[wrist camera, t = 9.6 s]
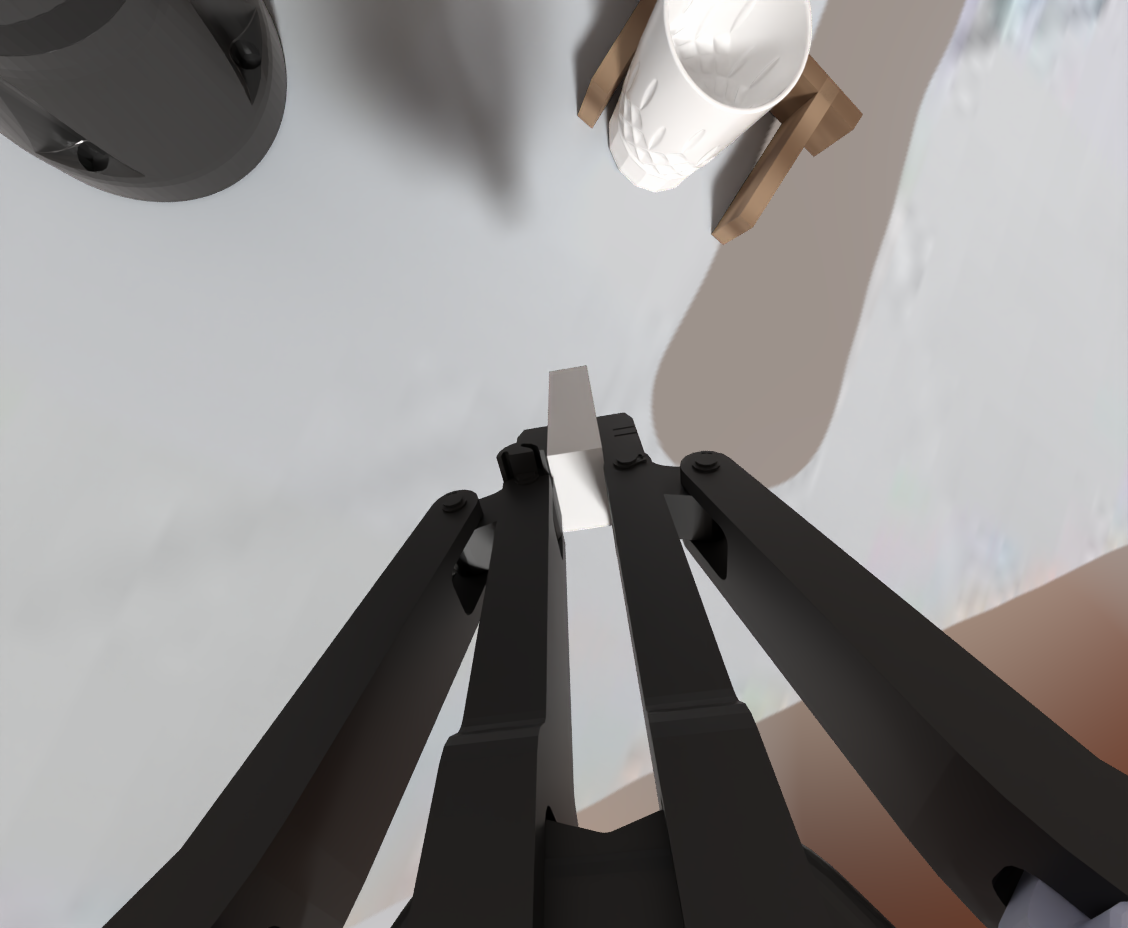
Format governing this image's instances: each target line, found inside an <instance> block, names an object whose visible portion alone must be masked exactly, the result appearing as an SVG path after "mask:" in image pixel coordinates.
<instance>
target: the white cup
mask: <svg viewBox="0 0 1128 928" xmlns="http://www.w3.org/2000/svg"><path fill="white" fill-rule="evenodd" d="M811 37H812V15H811V7H810V1H809V0H657V1H656V4H655V6H654V9H653V11H652V14H651V16H650V18H649V21H648V23H647V25H646V27H645V30H644V32H643V34H642V36H641V39H640V41H639V43H638V46H637V49H636V52H635V55H634V57H633V59H632V62H631V64H630V67H629V69H628V72H627V75H626V77H625V79H624V82H623V87H622V92H621V94H620V97H619V99H618V101H617V104H616V106H615V109H614V111H613V114H612V117H611V119H610V122H609V145H610V151H611V153H612V155H613V157H614V160H615V162H616V164H617V167H618V169H619V171H620V172H621V173H622V174H623V175H624V176H625V177H626V178H627V179H628V180H629V181H631V182H632V183H633V184H634V185H635V186H636V187H639V188H642V189H646V190H649V191H652V192H660V191H665V190H669V189H674V188H676V187H677V186H678V185H679V184H680V183H682V182H683V181H684V180H685V179H686V178H687V177H688V176H689V175H691V174H692V173H693V172H695V171H696V170H697V169H699V168H701V167H703V166H705V165H706V164H707V163H708V162H709V161H711V160H712V159H713V158H714V157H716V156H717V155H718V154H719V153H720V152H721V151H723V150H724V149H725V148H727V147H728V146H729V145H730V144H732V143H733V142H734V141H735V140H736V139H737V138H738V137H739V136H740V135H742V134H743V133H744V132H745V131H746V130H747V129H748V128H750V127H751V126H752V125H753V124H754V123H755V122H757V121H758V120H759V119H760V118H761V117H763V116H764V115H765V114H766V113H767V112H768V111H769V110H771V109H772V108H773V107H774V106H775V105H776V104H778V103H779V102H780V101H781V100H782V99H783V98H784V97H785V96H787V94H788V93H789V92H790V91H791V90H792V89H793V87H794V86H795V84H796V83H797V81H798V80H799V78H800V76H801V74H802V72H803V70H804V67H805V65H806V62H807V58H808V55H809V50H810V45H811Z"/></svg>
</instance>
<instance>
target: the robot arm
mask: <svg viewBox="0 0 1128 928" xmlns="http://www.w3.org/2000/svg"><path fill="white" fill-rule="evenodd" d="M285 100H286V71H285V63H284V57H283V52H282V48H281V44H280V40H279V37H278V34H277V31H276V28H275V26H274V23H273V20H272V18H271V16H270V14H269V12H268V9H267V7H266V6H265V4H264V2H263V0H0V133H1V134H3V135H4V136H5V137H7V138H8V139H9V140H11V141H12V142H14V143H15V144H16V145H18V146H19V147H21V148H22V149H24V150H25V151H27V152H29V153H30V154H32V155H33V156H35V157H37V158H39V159H41V160H43V161H44V162H46V163H48V164H50V165H52V166H53V167H55V168H57V169H59V170H61V171H63V172H64V173H66V174H68V175H70V176H72V177H74V178H75V179H77V180H79V181H81V182H84V183H86V184H88V185H90V186H93V187H95V188H97V189H100V190H103V191H106V192H109V193H112V194H115V195H119V196H122V197H127V198H131V199H136V200H143V201H153V202H178V201H187V200H193V199H198V198H202V197H205V196H209V195H212V194H214V193H217V192H219V191H222V190H224V189H226V188H228V187H230V186H232V185H233V184H235V183H236V182H238V181H239V180H241V179H242V178H243V177H245V176H246V175H247V174H248V173H249V172H251V171H252V170H253V169H254V168H255V167H256V166H257V165H258V163H259V162H260V161H261V160H262V159H263V157H264V156H265V155H266V153H267V152H268V150H269V148H270V147H271V145H272V143H273V141H274V139H275V137H276V135H277V132H278V130H279V127H280V124H281V121H282V117H283V113H284V108H285ZM496 458H497V461H498V464H499V468H500V471H501V474H502V478H503V481H504V483H503V489H502V490H500V491H498V492H497V493H494V494H492V495H490V496H487V497H484V498H481V499H478V497H477V494H476V493H474V492H473V491H470V490H458V491H453V492H450V493H447V494H446V495H444V496H442V497H441V498H439V499H438V500H437V501H436V502H435V503H434V504H433V505H432V506H431V508H430V509H429V510H428V512H427V513H426V515H425V516H424V517H423V519H422V520H421V521H420V523H419V524H418V525H417V527H416V528H415V530H414V531H413V532H412V534H411V535H410V536H409V538H408V539H407V540H406V542H405V543H404V545H403V546H402V547H401V549H400V550H399V551H398V553H397V554H396V556H395V557H394V558H393V560H392V561H391V562H390V564H389V565H388V566H387V568H386V569H385V571H384V572H383V573H382V575H381V576H380V577H379V579H378V580H377V581H376V583H375V584H374V586H373V587H372V588H371V590H370V591H369V592H368V594H367V595H366V597H365V598H364V599H363V601H362V602H361V603H360V605H359V606H358V607H357V609H356V610H355V612H354V613H353V614H352V616H351V617H350V618H349V620H348V621H347V622H346V624H345V625H344V627H343V628H342V629H341V631H340V632H339V633H338V635H337V636H336V638H335V639H334V640H333V642H332V643H331V644H330V646H329V647H328V648H327V650H326V651H325V653H324V654H323V655H322V657H321V658H320V659H319V661H318V662H317V663H316V665H315V666H314V668H313V669H312V670H311V672H310V673H309V674H308V676H307V677H306V678H305V680H304V681H303V683H302V684H301V685H300V687H299V688H298V689H297V691H296V692H295V694H294V695H293V696H292V698H291V699H290V700H289V702H288V703H287V704H286V706H285V707H284V709H283V710H282V711H281V713H280V714H279V715H278V717H277V718H276V719H275V721H274V722H273V724H272V725H271V726H270V728H269V729H268V730H267V732H266V733H265V735H264V736H263V737H262V739H261V740H260V741H259V743H258V744H257V745H256V747H255V748H254V750H253V751H252V752H251V754H250V755H249V756H248V758H247V759H246V760H245V762H244V763H243V765H242V766H241V767H240V769H239V770H238V771H237V773H236V774H235V776H234V777H233V778H232V780H231V781H230V782H229V784H228V785H227V786H226V788H225V789H224V791H223V792H222V793H221V795H220V796H219V797H218V799H217V800H216V801H215V803H214V804H213V806H212V807H211V808H210V810H209V811H208V812H207V814H206V815H205V817H204V818H203V819H202V821H201V822H200V823H199V825H198V826H197V827H196V829H195V830H194V832H193V833H192V834H191V836H190V837H189V838H188V840H187V841H186V842H185V844H184V845H183V847H182V848H181V849H180V850H179V851H178V852H177V853H176V854H175V855H174V856H173V857H172V858H171V859H170V860H169V861H168V862H167V863H166V864H165V865H164V866H163V867H162V868H161V869H160V870H159V871H158V872H157V873H156V874H155V875H154V876H153V877H152V878H151V879H150V880H149V881H148V882H147V883H146V884H145V885H144V886H143V887H142V888H141V889H140V890H139V891H138V892H137V893H136V894H135V895H134V896H133V897H132V898H131V899H130V900H129V901H128V902H127V903H126V904H125V905H124V906H123V907H122V908H121V909H120V910H119V911H118V912H117V913H116V914H115V915H114V916H113V917H112V918H111V919H110V920H109V921H108V922H107V923H106V924H105V925H104V926H103V927H102V928H343V926H344V924H345V922H346V920H347V918H348V916H349V914H350V912H351V910H352V908H353V906H354V904H355V901H356V899H357V897H358V895H359V893H360V891H361V889H362V887H363V885H364V883H365V880H366V878H367V876H368V874H369V871H370V869H371V867H372V865H373V862H374V860H375V858H376V855H377V853H378V851H379V849H380V846H381V844H382V842H383V840H384V837H385V835H386V833H387V830H388V828H389V826H390V824H391V821H392V819H393V817H394V815H395V812H396V810H397V808H398V805H399V803H400V801H401V799H402V796H403V794H404V792H405V790H406V787H407V785H408V783H409V780H410V778H411V776H412V774H413V771H414V769H415V767H416V765H417V762H418V760H419V758H420V755H421V753H422V751H423V749H424V746H425V744H426V742H427V740H428V737H429V735H430V733H431V730H432V728H433V726H434V724H435V721H436V719H437V717H438V715H439V712H440V710H441V708H442V705H443V703H444V701H445V699H446V696H447V694H448V692H449V690H450V687H451V685H452V683H453V680H454V678H455V676H456V674H457V671H458V669H459V667H460V665H461V662H462V660H463V658H464V655H465V653H466V651H467V649H468V646H469V644H470V642H471V640H472V637H473V635H474V633H475V630H476V628H477V626H478V624H479V628H478V634H477V640H476V646H475V652H474V658H473V663H472V669H471V675H470V681H469V687H468V693H467V698H466V704H465V710H464V716H463V721H462V725H461V728H460V730H459V732H458V733H456V734H454V735H452V736H450V737H449V738H448V740H447V742H446V744H445V746H444V748H443V752H442V756H441V759H440V763H439V768H438V773H437V778H436V783H435V788H434V793H433V798H432V803H431V808H430V813H429V818H428V823H427V828H426V833H425V838H424V843H423V848H422V853H421V858H420V863H419V868H418V873H417V878H416V883H415V888H414V893H413V897H412V898H411V899H410V901H409V902H408V903H407V905H406V906H405V908H404V909H403V910H402V912H401V913H400V915H399V916H398V918H397V919H396V921H395V922H394V923H393V925H392V926H391V928H895V927H894V925H892V924H891V923H890V922H889V921H888V920H887V919H886V918H885V917H884V916H883V915H882V914H881V913H880V912H879V911H878V910H877V909H876V908H875V907H874V906H873V905H872V904H871V903H870V902H869V901H868V900H867V899H866V898H864V896H863V895H862V894H860V892H858V891H857V890H856V889H855V888H854V887H853V886H852V885H851V884H850V883H849V882H848V881H847V880H846V879H845V878H844V877H843V876H842V875H841V874H840V873H839V872H838V871H836V870H835V869H834V868H833V867H832V866H831V865H830V864H829V863H827V862H826V861H825V860H823V859H822V858H821V857H820V856H818V855H817V854H816V853H815V852H813V851H812V850H811V849H809V848H807V847H806V846H805V845H803V844H801V842H800V839H799V837H798V834H797V831H796V829H795V826H794V824H793V821H792V818H791V816H790V813H789V810H788V808H787V805H786V802H785V800H784V797H783V795H782V792H781V789H780V786H779V784H778V781H777V778H776V776H775V773H774V770H773V768H772V765H771V762H770V760H769V757H768V755H767V752H766V749H765V747H764V744H763V741H762V739H761V736H760V733H759V731H758V728H757V726H756V723H755V721H754V719H753V716H752V714H751V712H750V710H749V709H748V707H747V706H746V704H745V703H743V702H741V701H739V700H738V698H737V697H736V694H735V692H734V690H733V687H732V684H731V681H730V679H729V676H728V673H727V670H726V667H725V665H724V662H723V659H722V656H721V653H720V651H719V648H718V645H717V642H716V640H715V637H714V634H713V631H712V628H711V626H710V623H709V620H708V617H707V614H706V612H705V609H704V606H703V603H702V600H701V598H700V595H699V592H698V589H697V586H696V584H695V581H694V578H693V575H692V572H691V570H690V567H689V564H688V561H687V558H686V556H685V553H684V550H683V547H682V545H681V542H680V539H683V542H684V545H685V547H686V548H687V549H688V551H689V552H690V553H691V555H692V556H693V557H694V559H695V560H696V561H697V563H698V564H699V565H700V566H701V568H702V569H703V570H704V572H705V573H706V574H707V576H708V577H709V578H710V580H711V581H712V582H713V584H714V585H715V586H716V587H717V589H718V590H719V591H720V593H721V594H722V595H723V597H724V598H725V599H726V601H727V602H728V603H729V605H730V606H731V607H732V609H733V610H734V611H735V612H736V614H737V615H738V616H739V618H740V619H741V620H742V622H743V623H744V624H745V626H746V627H747V628H748V630H749V631H750V632H751V633H752V635H753V636H754V637H755V639H756V640H757V641H758V643H759V644H760V645H761V647H762V648H763V649H764V651H765V652H766V653H767V654H768V656H769V657H770V658H771V660H772V661H773V662H774V664H775V665H776V666H777V668H778V669H779V670H780V672H781V673H782V674H783V676H784V677H785V678H786V679H787V681H788V682H789V683H790V685H791V686H792V687H793V689H794V690H795V691H796V693H797V694H798V695H799V697H800V698H801V699H802V700H803V702H804V703H805V704H806V706H807V707H808V708H809V710H810V711H811V712H812V713H813V715H814V716H815V718H816V719H817V720H818V721H819V723H820V724H821V725H822V727H823V728H824V729H825V730H826V732H827V733H828V735H829V736H830V737H831V739H832V740H833V741H834V742H835V744H836V745H837V746H838V748H839V749H840V750H841V752H842V753H843V754H844V756H845V757H846V758H847V760H848V761H849V762H850V764H851V765H852V766H853V767H854V769H855V770H856V771H857V773H858V774H859V775H860V776H861V778H862V779H863V781H864V782H865V783H866V784H867V786H868V787H869V788H870V790H871V791H872V792H873V794H874V795H875V796H876V797H877V799H878V800H879V802H880V803H881V804H882V806H883V807H884V808H885V809H886V811H887V812H888V813H889V815H890V816H891V817H892V819H893V820H894V821H895V822H896V824H897V825H898V826H899V828H900V829H901V830H902V832H903V833H904V834H905V836H906V837H907V838H908V839H909V841H910V842H911V843H912V844H913V845H914V847H915V848H916V849H917V850H918V852H919V853H920V854H921V855H922V856H923V858H924V859H925V860H926V861H927V863H928V864H929V865H930V866H931V867H932V869H933V870H934V871H935V872H936V874H937V875H938V876H939V877H940V878H941V879H942V880H943V881H944V883H945V884H946V885H947V886H948V887H949V888H950V889H951V890H952V891H953V892H954V893H955V894H956V895H957V896H958V898H959V899H960V900H961V901H962V902H963V903H964V904H965V905H966V906H967V907H968V908H969V909H970V910H971V911H972V913H973V914H974V915H975V916H976V917H977V918H978V919H979V920H980V921H981V922H982V923H983V924H984V925H985V926H986V927H987V928H1128V776H1127V775H1126V774H1124V773H1122V772H1121V771H1119V770H1117V769H1116V768H1114V767H1112V766H1110V765H1109V764H1107V763H1105V762H1103V761H1102V760H1100V759H1099V758H1097V757H1096V756H1095V755H1093V754H1092V753H1091V752H1090V751H1089V750H1087V749H1086V748H1085V747H1084V746H1083V745H1081V744H1080V743H1079V742H1078V741H1076V740H1075V739H1074V738H1073V737H1072V736H1070V735H1069V734H1068V733H1067V732H1065V731H1064V730H1063V729H1062V728H1060V727H1059V726H1058V725H1057V724H1055V723H1054V722H1053V721H1052V720H1051V719H1049V718H1048V717H1047V716H1046V715H1044V714H1043V713H1042V712H1041V711H1040V710H1038V709H1037V708H1036V707H1035V706H1033V705H1032V704H1031V703H1030V702H1029V701H1027V700H1026V699H1025V698H1024V697H1022V696H1021V695H1020V694H1019V693H1018V692H1016V691H1015V690H1014V689H1013V688H1011V687H1010V686H1009V685H1007V684H1006V683H1005V682H1004V681H1003V680H1002V679H1000V678H999V677H998V676H996V675H995V674H994V673H993V672H992V671H991V670H989V669H988V668H987V667H986V666H984V665H983V664H982V663H981V662H979V661H978V660H977V659H976V658H975V657H973V656H972V655H971V654H970V653H968V652H967V651H966V650H965V649H964V648H962V647H961V646H960V645H959V644H957V643H956V642H955V641H954V640H952V639H951V638H950V637H949V636H948V635H946V634H945V633H944V632H943V631H941V630H940V629H939V628H938V627H937V626H935V625H934V624H933V623H932V622H930V621H929V620H928V619H927V618H925V617H924V616H923V615H922V614H921V613H919V612H918V611H917V610H916V609H914V608H913V607H912V606H911V605H910V604H908V603H907V602H906V601H905V600H903V599H902V598H901V597H900V596H898V595H897V594H896V593H895V592H894V591H892V590H891V589H890V588H889V587H887V586H886V585H885V584H884V583H883V582H881V581H880V580H879V579H878V578H876V577H875V576H874V575H873V574H871V573H870V572H869V571H868V570H867V569H865V568H864V567H863V566H862V565H860V564H859V563H858V562H857V561H856V560H854V559H853V558H852V557H851V556H849V555H848V554H847V553H846V552H844V551H843V550H842V549H841V548H840V547H838V546H837V545H836V544H835V543H833V542H832V541H831V540H830V539H829V538H827V537H826V536H825V535H824V534H822V533H821V532H820V531H819V530H817V529H816V528H815V527H814V526H813V525H811V524H810V523H809V522H808V521H806V520H805V519H804V518H803V517H802V516H800V515H799V514H798V513H797V512H795V511H794V510H793V509H792V508H790V507H789V506H788V505H787V504H786V503H784V502H783V501H782V500H781V499H779V498H778V497H777V496H776V495H775V494H773V493H772V492H771V491H770V490H768V489H767V488H766V487H764V486H763V485H762V484H761V483H760V482H759V481H757V480H756V479H755V478H754V477H752V476H751V475H750V474H748V473H747V472H746V471H745V470H744V469H743V468H741V467H740V466H739V465H738V464H736V463H735V462H734V461H733V460H731V459H730V458H729V457H727V456H726V455H724V454H722V453H717V452H713V451H701V452H696V453H692V454H690V455H687V456H686V457H685V458H684V459H683V460H682V461H681V464H680V467H672V466H662V465H659V464H655V463H653V462H652V461H651V458H650V457H649V456H648V454H646V453H644V450H643V447H642V444H641V441H640V438H639V436H638V433H637V430H636V427H635V424H634V421H633V418H631V417H630V416H629V415H627V414H626V413H618V414H612V415H606V416H600V417H596V413H595V408H594V403H593V397H592V392H591V386H590V381H589V376H588V370H587V365H585V366H580V367H574V368H568V369H562V370H556V371H551V372H549V402H548V426H545V427H539V428H533V429H527V430H524V431H523V432H522V433H521V434H520V436H519V437H518V438H517V443H514V444H511V445H509V446H507V447H505V448H504V449H502V450H501V451H500V452H499V453H498V455H497V457H496ZM562 525H563V530H564V532H569V531H576V530H583V529H590V528H597V527H604V526H610V525H612V528H613V534H614V541H615V548H616V555H617V558H618V564H619V570H620V576H621V582H622V588H623V594H624V600H625V606H626V612H627V617H628V623H629V629H630V635H631V641H632V647H633V653H634V659H635V665H636V671H637V677H638V683H639V689H640V694H641V700H642V706H643V712H644V718H645V724H646V730H647V736H648V742H649V748H650V754H651V760H652V765H653V771H654V777H655V783H656V789H657V796H658V802H659V808H660V811H657V812H655V813H653V814H651V815H648V816H646V817H644V818H642V819H639V820H637V821H635V822H632V823H630V824H628V825H626V826H623V827H621V828H619V829H617V830H614V831H612V832H608V833H600V832H596V831H592V830H588V829H584V828H580V827H578V822H577V815H576V808H575V799H574V783H573V755H572V726H571V697H570V668H569V639H568V611H567V582H566V553H565V541H564V536H563V532H562ZM479 621H480V623H479Z"/></svg>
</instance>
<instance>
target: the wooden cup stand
mask: <svg viewBox="0 0 1128 928" xmlns="http://www.w3.org/2000/svg"><path fill="white" fill-rule="evenodd" d="M656 1H657V0H640V2H639V4H638V5H637V7H636V8H635V10H634V12H633V13H632V15H631V16H630V18H629V20H628V21H627V23H626V24H625V26H624V28H623V29H622V31H621V32H620V34H619V36H618V37H617V39H616V41H615V42H614V44H613V45H612V47H611V49H610V50H609V52H608V53H607V55H606V57H605V58H604V60H603V61H602V63H601V65H600V66H599V68H598V69H597V71H596V73H595V74H594V76H593V77H592V79H591V82H590V84H589V87H588V90H587V92H586V95H585V97H584V100H583V103H582V105H581V108H580V111H579V113H578V117H580V118H581V119H582V120H583V121H584V122H585V123H586V124H587V125H589V126H590V127H591V128H593V126H594V125H595V123H596V121H597V120H598V118H599V116H600V115H601V113H602V112H603V110H604V108H605V107H606V105H607V104H608V102H609V100H610V99H611V97H612V96H613V94H614V92H615V91H616V89H617V88H618V86H619V84H620V83H621V81H622V80H623V78H624V76H625V75H626V73H627V72H628V69H629V67H630V64H631V62H632V59H633V57H634V55H635V52H636V49H637V46H638V43H639V41H640V39H641V36H642V34H643V32H644V30H645V27H646V25H647V23H648V21H649V18H650V16H651V14H652V11H653V9H654V6H655V4H656ZM769 111H770V112H771V113H772V114H773V115H774V116H775V117H776V118H777V119H778V120H779V121H780V122H781V123H782V124H781V126H780V127H779V129H778V130H777V132H776V134H775V135H774V137H773V139H772V140H771V142H770V143H769V145H768V146H767V148H766V149H765V151H764V153H763V154H762V156H761V157H760V159H759V160H758V162H757V164H756V165H755V167H754V168H753V170H752V171H751V173H750V175H749V176H748V178H747V179H746V181H745V182H744V184H743V186H742V187H741V189H740V190H739V192H738V194H737V195H736V197H735V198H734V200H733V201H732V203H731V205H730V206H729V208H728V209H727V211H726V212H725V214H724V216H723V217H722V219H721V220H720V222H719V223H718V225H717V227H716V228H715V230H714V231H713V233H712V234H711V235H713V236H714V237H715V238H716V239H717V240H718V241H719V242H720V243H722V244H723V245H724V244H726V243H727V242H729V241H731V240H732V239H734V238H736V237H737V236H739V235H741V234H743V233H744V232H746V231H748V230H749V229H751V228H752V227H753V226H754V225H755V223H756V221H757V220H758V218H759V217H760V215H761V214H762V212H763V210H764V209H765V207H766V206H767V204H768V203H769V201H770V200H771V198H772V196H773V195H774V193H775V192H776V190H777V189H778V187H779V185H780V184H781V182H782V181H783V179H784V177H785V176H786V174H787V173H788V171H789V170H790V168H791V167H792V165H793V163H794V162H795V160H796V159H797V157H798V155H799V154H800V152H801V151H802V149H803V148H804V147H805V148H806V149H807V150H808V151H809V152H810V153H811V155H813V156H816V155H817V154H818V153H820V152H822V151H823V150H824V149H826V148H827V147H829V146H830V145H832V144H833V143H834V142H836V141H837V140H839V139H840V138H842V137H843V136H845V135H846V134H847V133H849V132H850V131H852V130H853V129H854V128H855V126H856V124H857V123H858V121H859V120H860V118H861V117H862V113H861V112H860V111H859V109H858V108H857V107H856V106H855V105H854V104H853V103H852V102H851V100H850V99H849V98H848V97H847V96H846V95H845V94H844V93H843V91H841V89H840V88H839V87H838V86H837V85H836V84H835V82H834V81H833V80H832V79H831V78H830V77H829V76H828V75H827V74H826V72H825V71H824V70H823V69H822V68H821V67H820V66H819V65H818V63H817V62H816V61H815V60H814V59H813V58H812V57H811V56H810V54H809V55H808V58H807V62H806V65H805V67H804V70H803V72H802V74H801V76H800V78H799V80H798V81H797V83H796V84H795V86H794V87H793V89H792V90H791V91H790V92H789V93H788V94H787V96H785V97H784V98H783V99H782V100H781V101H780V102H779V103H778V104H776V105H775V106H774V107H773V108H772V109H771V110H769Z"/></svg>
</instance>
